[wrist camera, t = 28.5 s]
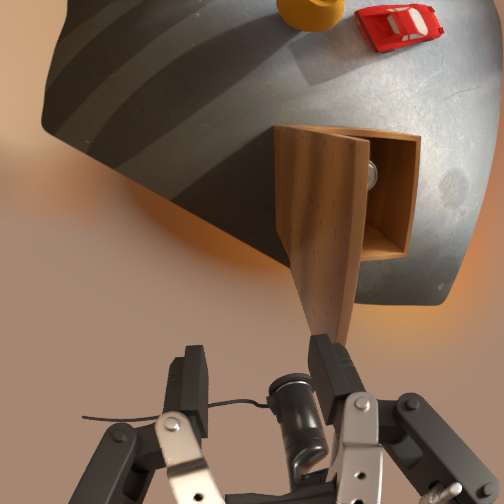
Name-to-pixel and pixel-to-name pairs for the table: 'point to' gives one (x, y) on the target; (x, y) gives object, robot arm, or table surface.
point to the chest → (378, 197)
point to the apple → (311, 14)
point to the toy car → (397, 26)
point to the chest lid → (327, 225)
